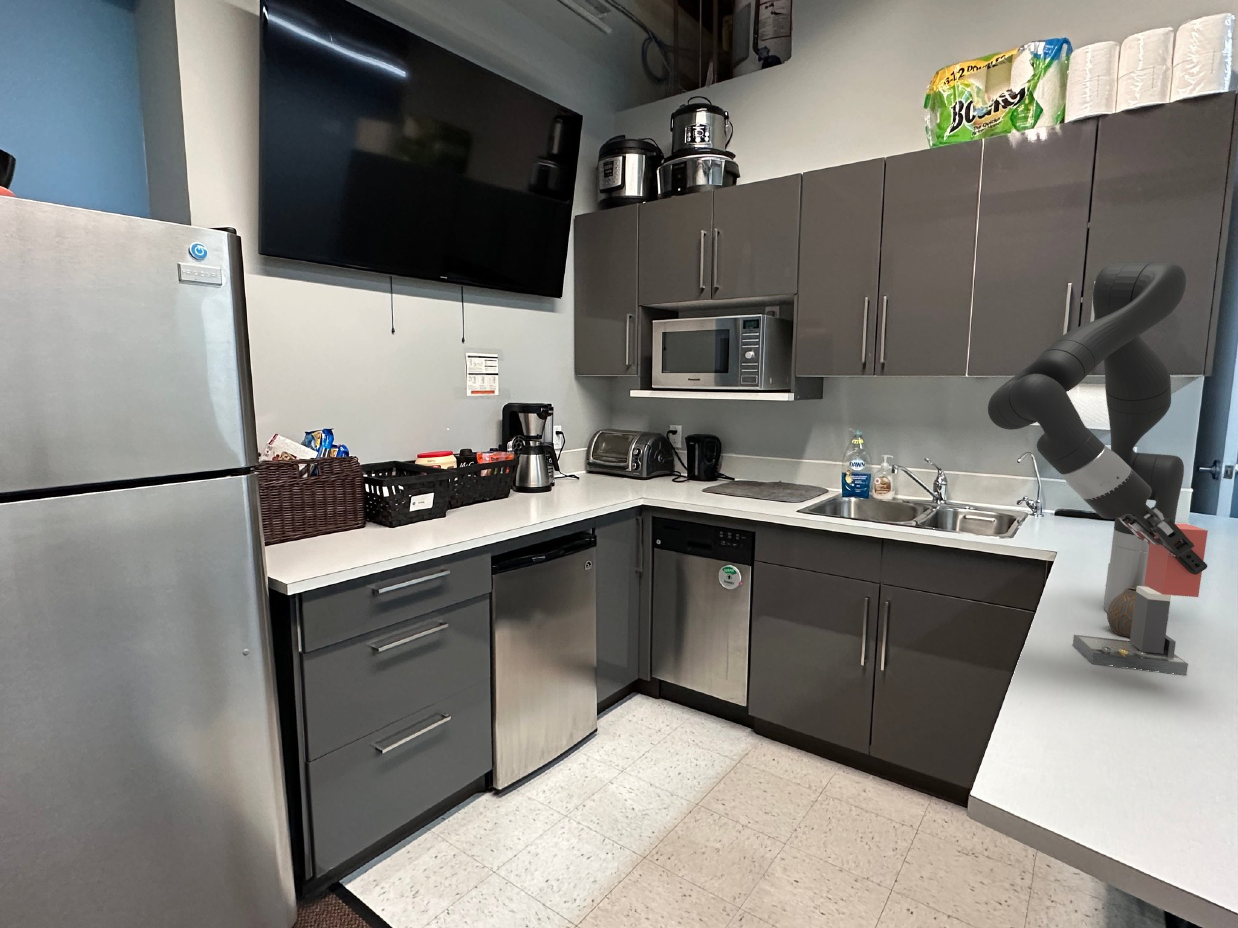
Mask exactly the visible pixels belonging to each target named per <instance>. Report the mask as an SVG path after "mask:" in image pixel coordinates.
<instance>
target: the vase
mask: <svg viewBox="0 0 1238 928" xmlns="http://www.w3.org/2000/svg"><path fill="white" fill-rule="evenodd" d="M1135 596H1136V588H1125V590H1124V591H1123V592H1122V593H1121V594H1120V595H1118V596H1117V597H1115V598H1114V599H1113V600H1112V601H1111V603H1110V604H1109V607H1108V610H1107V611H1106V619H1107V623H1108V624H1109V625H1108V626H1109V627H1110V628H1111V629H1112V631H1113V632H1115V634H1117V635H1119V636H1121V637H1122V636H1123V637H1125V636H1127V637H1126V638H1129V637H1130V635H1131V628H1132V620H1133V612H1134V604H1135Z"/></svg>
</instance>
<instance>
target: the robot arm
mask: <svg viewBox="0 0 1238 928" xmlns="http://www.w3.org/2000/svg"><path fill="white" fill-rule="evenodd" d="M1186 285H1187V276H1186V271H1185V270H1184V269H1183V267H1182V266H1181V265H1179V264H1176V263H1171V262H1162V261H1161V262H1160V261H1159V262H1152V261H1151V262H1146V261H1143V262H1142V261H1140V262H1135V261H1134V262H1130V261H1129V262H1116V263H1115V262H1114V263H1111V264H1108V265H1106V266H1105V267H1103V268H1102V269H1101V270H1100V271H1099V272H1098V274H1097V276H1096V278H1095V281H1094V283H1093V288H1092V307H1093V314H1094V320H1093V321H1090V322H1088V323H1084V324H1082V325H1079V326H1078V327H1075V328H1073V329H1071V330H1069V331H1068V332H1066V333H1064V334H1062V335H1061V336H1059V338H1057V339H1056V340H1055V341H1054V342H1053V343H1052V344H1050V345H1049V346H1048V347H1047V348H1046V349H1045V350H1044V351H1042V353H1040V354H1039V356H1038V357H1037V358H1036V359H1035V360H1034V361H1033V362H1032V363H1031V364H1030V365H1028V366H1027V367H1025V368H1024V369H1023V370H1021V371H1020V372H1019V373H1016V375H1015V376H1013V377H1011V378H1010V379H1009V380H1008V381H1006V382H1004V383H1003V385H1001V386H1000V387H999V388H997V390H995V392H994V393H993V394H992V395H991V397H990V398H989V400H988V404H987V414H988V417H989V418H990V420H991V422H992V423H993V424H994V425H995V426H997V427H999V428H1001V429H1004V430H1008V431H1009V430H1012V431H1013V430H1019V429H1023V428H1026V427H1028V426H1031V425H1033V424H1036V423H1037V424H1038V425H1039V426H1040V427H1041V428H1042V431H1043V434H1042V435H1040V437H1039V438H1038V440H1037V443H1036V448H1037V451H1038V452H1039V454H1040V455H1041V456H1042V457H1043V458H1044V459H1045V460H1046V461H1047V463H1049V465H1050V466H1052V467H1053V468H1054V470H1056V472H1058V473H1059V474H1060V475H1061V476H1062V478H1063V479H1064V481H1066V483H1067V484H1068V485H1069V487H1071V489H1072V490H1073V491H1074V492H1075V493H1077V494H1078V496H1079V497H1080V498H1081V499H1083V501H1084V502H1085V503H1086V504H1087V505H1088V506H1089V507H1091V509H1092V510H1093V511H1095V513H1096V514H1097V515H1099V517H1101V518H1102V519H1106V520H1114V519H1115V520H1114V525H1113V534H1112V541H1111V551H1110V559H1109V563H1108V565H1107V572H1106V573H1107V574H1106V580H1105V581H1106V582H1105V589H1104V590H1105V591H1104V599H1103V606H1104V611H1105V612H1107V610H1108V607H1109V604H1110V603H1111V601H1112V600H1113V599H1114V598H1115V597H1117V596H1118V595H1120V594H1121V593H1122V592H1123V591H1124V590H1125V588H1137V586H1143V587H1147V586H1145V585H1144V582H1145V575H1146V567H1147V560H1148V552H1149V544H1150V542H1152V543H1153V544H1154V545H1160V546H1162V547H1163V548H1164V549H1165V550H1166V551H1167V552H1168V553H1169V554H1170V555H1171V556H1173V557H1174V558H1175V559H1176V560H1177V561H1178V562H1179V563H1180V564H1181V565H1182V566H1183V567H1184V568H1185V569H1187V570H1188V571H1189V572H1190V573H1192V574H1194V575H1197V574H1199V573H1200V572H1202V573H1203V571H1205V570H1207V568H1208V564H1207V562H1205V561H1203V560H1202V559H1201V558H1200V557H1199V556H1198V555H1197V554H1196V553H1195V552H1194V551H1193V550H1192V549H1191V548H1193V547H1195V546H1194V544H1193V543H1192V542H1191V541H1190V540H1189V539H1188V538H1187V537H1186V535H1185V534H1184V533H1183V532H1182V531H1181V530H1180V529H1179V528H1178V527H1177V525H1176V524H1175V523H1176V518H1177V511H1178V505H1179V500H1180V495H1181V489H1182V486H1183V481H1184V476H1185V466H1184V462H1183V460H1182V458H1181V457H1180V456H1177V455H1171V454H1161V453H1147V452H1146V453H1145V452H1136V451H1135V450H1134V448H1135V446H1136V445H1137V443H1138V442H1139V441H1140V440H1141V439H1142V437H1144V435H1146V433H1148V432H1149V431H1150V430H1151V429H1152V428H1153V427H1155V426H1156V425H1157V424H1158V423H1160V421H1161V420H1162V419H1163V418H1164V417H1165V416H1166V414H1167V413H1168V411H1169V409H1170V408H1171V404H1172V387H1171V385H1172V384H1171V383H1172V382H1171V379H1172V378H1171V374H1170V371H1169V369H1168V366H1167V365H1166V364H1165V363H1164V361H1163V360H1162V359H1161V358H1160V356H1159V355H1158V354H1157V353H1156V352H1155V351H1154V350H1153V349H1152V347H1150V346H1149V344H1148V343H1147V342H1145V340H1144V339H1143V338H1142V337H1141V335H1142V334H1143V333H1145V332H1146V331H1148V330H1149V329H1151V328H1153V327H1155V326H1156V325H1158V324H1159V323H1160V322H1162V321H1163V320H1165V319H1166V318H1167V317H1168V316H1170V315H1171V314H1172V313H1173V311H1174V310H1175V309H1176V308H1177V307H1178V306H1179V304H1180V303H1181V300H1182V299H1183V296H1184V293H1185V291H1186ZM1102 362H1103V367H1104V368H1103V369H1104V387H1105V389H1104V390H1105V400H1106V407H1107V413H1108V423H1109V430H1110V448H1109V447H1108V446H1107V445H1106V444H1104V443H1103V442H1102V440H1100V439H1099V438H1098V437H1097V436H1096V435H1095V434H1094V433H1093V432H1092V431H1091V430H1090V429H1089V428H1088V427H1087V426H1086V425H1085V424H1084V422H1083V420H1082V419H1081V416H1080V414H1079V412H1078V411H1077V408H1076V407H1075V405H1074V404H1073V402H1072V400H1071V397H1070V396H1069V394H1068V392H1069V391H1071V390H1072V389H1073V388H1076V387H1077V386H1078V385H1079V384H1080V383H1081V382H1082V381H1083V380H1084V379H1085V378H1086V377H1087V376H1088V375H1090V374H1091V372H1092V371H1093V370H1095V369H1096V368H1097V366H1099V364H1101V363H1102ZM1148 500H1149V501H1155V504H1154V506H1152V507H1150V506H1149V505H1147V502H1148ZM1156 535H1157V536H1158V537H1159V538H1157V539H1156V538H1154V537H1155V536H1156ZM1177 541H1178V542H1179V543H1178V544H1177V545H1175V546H1174V543H1176V542H1177Z"/></svg>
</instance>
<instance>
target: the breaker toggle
mask: <svg viewBox="0 0 1238 928" xmlns="http://www.w3.org/2000/svg"><path fill="white" fill-rule="evenodd" d="M1171 599H1172V595H1163V594H1161V593H1159V592H1157V591H1155V590H1153V589H1151V588H1149V587H1143V586H1137V588H1136V596H1135V604H1134V612H1133V620H1132V628H1131V635H1130V638H1129V641H1130V643H1132V644H1133V645H1134V646H1136V647H1137V648H1138V649H1139V650H1141V651H1144V652H1153V653H1161V654H1163V652H1164V644H1165V637H1166V635H1167V627H1168V622H1169V620H1168V619H1169V613H1170V607H1171Z"/></svg>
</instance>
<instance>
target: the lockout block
mask: <svg viewBox="0 0 1238 928" xmlns="http://www.w3.org/2000/svg"><path fill="white" fill-rule="evenodd" d="M1175 524H1176V525H1177V527H1178V528H1179V529H1180V530H1181V531H1182V532H1183V533H1184V534H1185V535H1186V537H1187V538H1188V539H1189V540H1190V541H1191V542H1192V543H1193V544H1194V546H1195V547H1193V548H1191V549H1192V550H1193V551H1194V552H1195V553H1196V554H1197V555H1198V556H1199V557H1200V558H1201V559H1202V560H1203V561H1204V560H1205V555H1206V554H1205V553H1206V546H1207V540H1208V531H1209V530H1207V529H1204V528H1201V527H1198V526H1194V525H1192V524H1189V523H1183V522H1182V523H1178V522H1175ZM1154 538H1156V539H1157V538H1159V537H1158V536H1157V535H1156V536H1155V537H1154ZM1178 543H1179V542H1178V541H1177V542H1176V543H1174V546H1175V545H1177V544H1178ZM1204 562H1205V561H1204ZM1202 574H1203V571H1202V572H1200V573H1199V574H1197V575H1194V574H1192V573H1190V572H1189V571H1188V570H1187V569H1185V568H1184V567H1183V566H1182V565H1181V564H1180V563H1179V562H1178V561H1177V560H1176V559H1175V558H1174V557H1173V556H1171V555H1170V554H1169V553H1168V552H1167V551H1166V550H1165V549H1164V548H1163V547H1162V546H1160V545H1154V544H1153V543H1152V542H1150V544H1149V552H1148V560H1147V567H1146V575H1145V582H1144V585H1145V586H1147V587H1149V588H1151V589H1153V590H1155V591H1157V592H1159V593H1161V594H1163V595H1171V596H1178V597H1191V598H1198V597H1199V593H1200V588H1201V580H1202Z"/></svg>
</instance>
